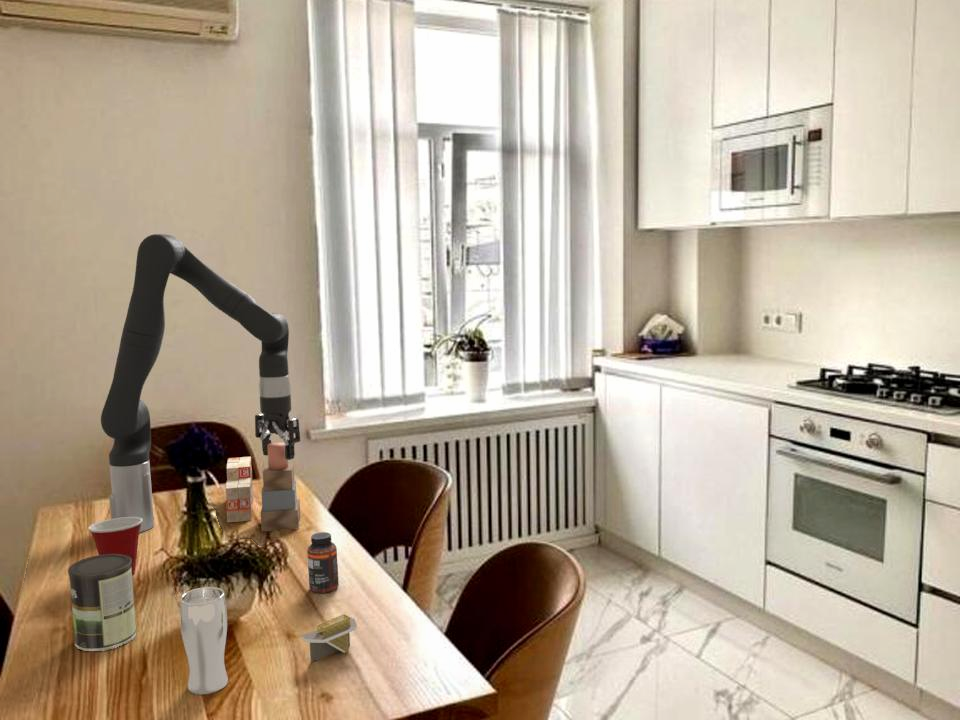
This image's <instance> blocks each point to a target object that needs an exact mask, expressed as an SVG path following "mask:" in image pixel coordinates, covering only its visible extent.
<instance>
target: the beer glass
mask: <svg viewBox="0 0 960 720" xmlns="http://www.w3.org/2000/svg"><path fill="white" fill-rule="evenodd" d="M179 608H180V610H179V611H180V614H179V615H180V617H179V619H180V621H179V622H180V632H181V633H180V634H181V638H182V642H183V645H184V649H185V653H186V657H187V660H188V667H189V676H188V684H187V689H188V691H189V692H190V693H192V694H194V695H200V696H201V695H209V694H214V693H217V692H219V691H221V690H222V689H224V688H225V687H226V686H227V684H228V683H229V679H228V674H227V670H226V667H225V649H226V641H227V634H228V633H227V632H228V613H227V606H226V598H225V591H224V590H223V589H222V588H220V587H216V586H204V587H198V588H194V589H191V590H188V591H186V592H184V593H183V594H182V595H181V596H180V607H179Z"/></svg>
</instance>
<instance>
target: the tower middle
mask: <svg viewBox="0 0 960 720" xmlns="http://www.w3.org/2000/svg"><path fill="white" fill-rule="evenodd" d="M297 498H298V497H297V482H296V480H295V483H294V486H293V490H277V491H264V486H262V489H261V509H262V511H263V512H264V511H277V510H291V509H296V502H297V500H298V499H297Z"/></svg>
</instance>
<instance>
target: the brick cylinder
mask: <svg viewBox="0 0 960 720" xmlns="http://www.w3.org/2000/svg"><path fill="white" fill-rule="evenodd" d="M267 448H268V455H267V462H268V464H267V465H268V468H269V469H270V470H283V469H286V468H288V463H289V462H288V461H289V460H287V459H286V458H285V443H284V441H282V442H281V441H279V442H271V443H270V444H268V445H267Z"/></svg>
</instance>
